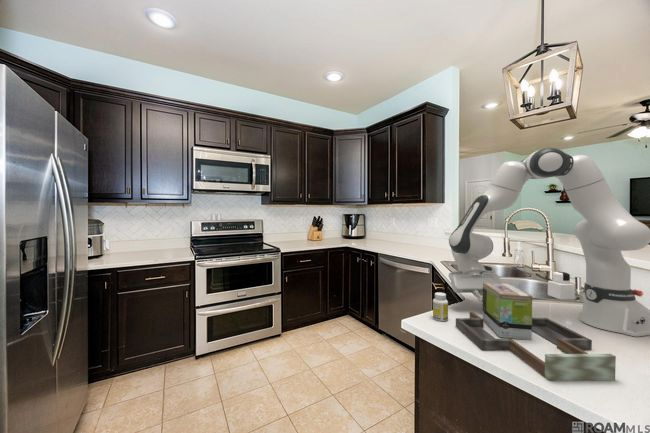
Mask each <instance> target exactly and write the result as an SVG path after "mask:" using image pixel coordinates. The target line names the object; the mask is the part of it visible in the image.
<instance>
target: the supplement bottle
mask: <svg viewBox="0 0 650 433" xmlns="http://www.w3.org/2000/svg"><path fill="white" fill-rule="evenodd" d="M432 318H433V319H434V320H435V321H437V322H446V321H448V320H449V301H448V300H447V294H446V293H445V292H435V293H434V298H433V299H432Z"/></svg>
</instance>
